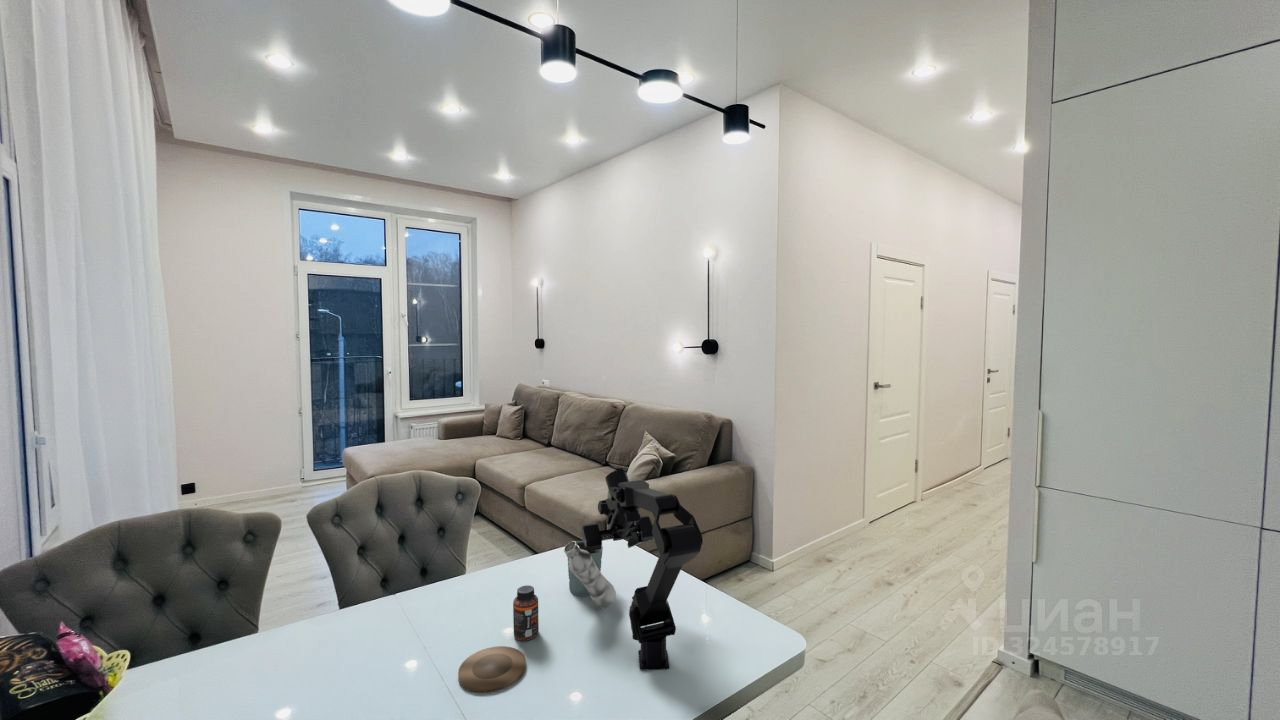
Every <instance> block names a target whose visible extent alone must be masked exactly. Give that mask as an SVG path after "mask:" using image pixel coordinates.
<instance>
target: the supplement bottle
mask: <svg viewBox="0 0 1280 720" xmlns="http://www.w3.org/2000/svg"><path fill="white" fill-rule="evenodd" d="M516 591H517V592H516V597H515V598H514V599H513V603H512V605H513V606H512V612H513V615H512V616H513V618H512V619H513V637H514V638H515V639H516V640H518V641H530V640H533V639H534V638H536V637H537V636H538V634H539V630H540V629H539V627H540V626H539V623H540V622H539V597H538V596H537V595H536V594H535V588H534V586H532V585H529V584H526V585H522V586H520V587H517V590H516Z"/></svg>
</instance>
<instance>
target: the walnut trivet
mask: <svg viewBox="0 0 1280 720" xmlns="http://www.w3.org/2000/svg"><path fill="white" fill-rule="evenodd" d="M526 664H527V663H526V656H525V654H524V653H523V652H522V651H520V649H517V648H515V647H511V646H506V645H505V646H503V645H500V646H499V645H498V646H492V647H487V648H483V649H481V650H478V651H476V652H475V653H472V654H471V655H469V656H468V657H466V659H464V660H463V662H462V663H461V664H460V666H459V668H458V672H457V674H458V675H457V676H458V682H459V684H460V686H461V687H462V688H463V689H465V690H467V691H468V692H469V691H470V692H472V693H478V694H479V693H481V694H486V693H492V692H497V691H498V692H499V691H500V690H503V689H506V688H508V687H510V686H512V685H513V684H514V683H517V681H518V680H519V679H520V678H521V677H522V676H523V675H524V673H525V671H526V668H527V665H526Z"/></svg>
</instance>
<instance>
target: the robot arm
mask: <svg viewBox="0 0 1280 720" xmlns="http://www.w3.org/2000/svg"><path fill="white" fill-rule="evenodd" d="M604 480H605V482H606V483H605V484H606V486H607V489H608V493H609V495H610V498H606V499H603V500H599V502H598V504H597V511H598V513H599V515H604V516H606V520H605V523H606V525H608V529H604V530H600V528H599V524H598V523H597V522H594V523H587V524H583V525H582V527H581V530H580V532H581V536H582V541H584V545H585V549H587V550H591V551H593V550H594V551H595V552H596V554H597V553H599V551H600V550H601V549H602V548H601V546H602V547H603V541H608V540H613V541H621V540H622V541H623V540H627V541H628V542H627V548H628V549H630V548H633V547H635V546H638V545H640V544H643V543H645V542H649V541H652V540H654V542H655V545H656V548H657V551H658V553H659V557H658V559H657V562H656V564H655V566H654V569H653V571H652V574H651V577H650V579H649V581H648V584H647V585H646V586H641V587H640V586H639V587H636V589H635V590H634V593H633V596H632V597H631V599H632V600H631V602H630V603H631V605H630V606H629V610H628V611H629V613H628V615H629V620H630V629H631V632H632V639H633V640H634V641H637V642H638V643H639V644H640V649H639V650H638V653H637V654H638V666H639V671H654V670H655V671H657V670H669V669H670V662H669V655H668V649H667V637H669V636H674V635H676V630H677V627H676V624H675V620H674V617H673V615H672V611H671V606H670V604H669V601H668V598H669V596H670V594H671V592H672V590H673V587H674V585H675V583H676V581H677V578H678V576H679V575H680V572H681V570H682V568H683V566H684V565H686V564H687V563H689V562H691V561H693V560H694V559H695V558H696V557H697V556H698V554H699V553H700V552H701V550H702V546H703V535H702V532H701V530H700V528H699V526H698V523H697V521H696V519H695V516H694V515H693V514H692V513H690V511H688V510H687V509H686V508H685V507H684V506H682V505H681V503H680V501H679V499H678V497H677V495H676V494H672V493H665V492H662V491H659V490H656V489H653V488H650V484H649V482H647V481H646V480H644V479H641V480H632V481H630V479H629V477H628V474H627V472H626V471H625V470H624V468H623V467H618V468H617V467H616V468H615V470H614V471H612V472H609V473H608V474H607V475H606V476H605V479H604ZM640 508H641V509H643V510H646V511H648V512H650V513H652V516H653V517H654V520H653V521H652V519H651V517H650V516H649V515H641V514H640ZM667 515H673V517H674V518H675V519H677V520H678V522H680V523H681V524H680V525H673V526H668V527H662V528H661V526H660V523H659V521H660V517H661V516H667Z"/></svg>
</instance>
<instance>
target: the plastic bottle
mask: <svg viewBox="0 0 1280 720" xmlns="http://www.w3.org/2000/svg"><path fill="white" fill-rule="evenodd" d="M576 542H577V541H574V540H573V541H570V542H569V543H567V544H566V545H565V546H564V548H563V552H564V554H565V556H566V557H567V559H568V558H569V568H570V571H571V572H572V573H573V574H574V575H575V576H576V577H577V578H578V579H579V580H580V581H581V582H582V583H583V585H584V586H585V587H586V589H587V591H588V592H589V594H590V595H589V596H590V599H591V601H592V603H593V604H594V605H595V606H597V608H599V609H607V608H608V607H610V606H611V605H612V604H613V603H614V601H615V600H616V597H617V593H616V592H617V591H616V589H615V587H614V585H613V584H612V583H611V582H610V581H609V580H607V578H606V577H605V576H604V575H603V574H602V571H599V569H598V567H597V566H596V564H595V562H594V560H593V558H592V556H591V554H590V553H589V552H588V551H586V550H583V549H580V547H579V546H578V545H577V543H576Z"/></svg>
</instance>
